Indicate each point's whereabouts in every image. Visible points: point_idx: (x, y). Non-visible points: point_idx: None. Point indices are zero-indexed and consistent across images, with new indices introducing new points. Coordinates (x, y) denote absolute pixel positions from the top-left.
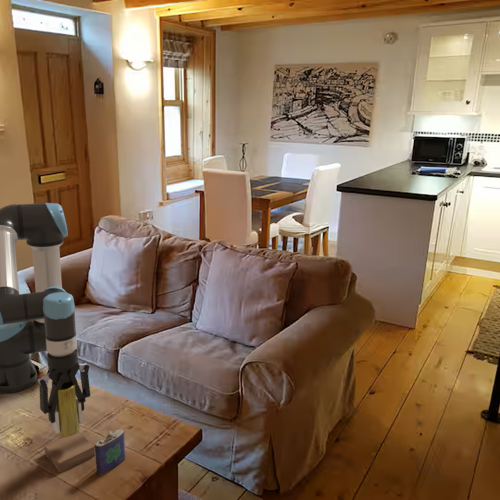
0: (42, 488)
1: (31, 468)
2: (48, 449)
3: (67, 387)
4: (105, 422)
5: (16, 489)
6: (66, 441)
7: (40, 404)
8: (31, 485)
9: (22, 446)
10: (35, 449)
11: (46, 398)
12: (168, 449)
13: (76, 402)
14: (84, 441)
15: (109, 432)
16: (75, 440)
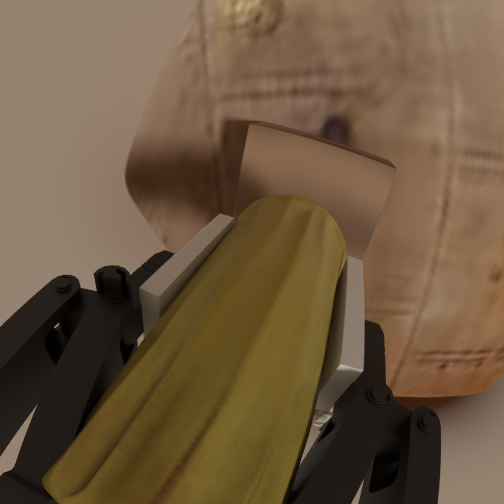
0: (180, 238)
1: (197, 147)
2: (243, 160)
3: (247, 490)
4: (497, 185)
5: (141, 188)
6: (316, 182)
7: (29, 308)
8: (168, 207)
9: (238, 26)
10: (256, 72)
11: (23, 405)
12: (430, 387)
13: (320, 388)
14: (354, 243)
15: (327, 414)
16: (341, 208)
